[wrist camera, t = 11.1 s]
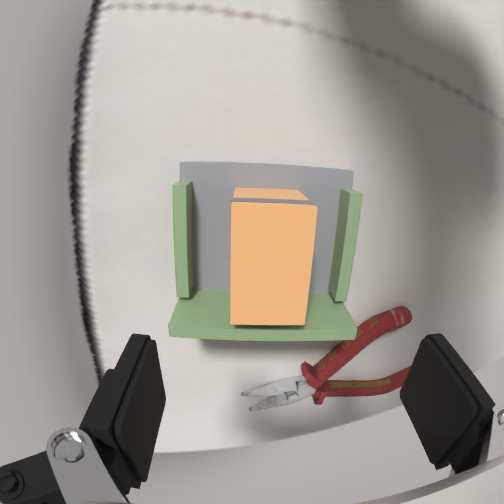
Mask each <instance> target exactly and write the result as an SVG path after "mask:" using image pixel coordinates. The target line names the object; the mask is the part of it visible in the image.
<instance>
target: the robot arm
mask: <svg viewBox="0 0 504 504" xmlns="http://www.w3.org/2000/svg"><path fill="white" fill-rule="evenodd" d="M400 398H401V401H402V403H403V405H404V407H405V409H406V411H407V413H408V415H409V417H410V419H411V421H412V423H413V426H414V428H415V430H416V432H417V434H418V436H419V438H420V440H421V443H422V445H423V447H424V449H425V452H426V454H427V456H428V458H429V461H430V462H431V463H432V464H434V465H435V468H436V470H438V469H441V468H444V467H446V466H448V465H449V464H451V466H452V469H451V472H450V475H449V477H448V478H446V479H443V480H440V481H438V482H435V483H432V484H429V485H426V486H423V487H420V488H417V489H413V490H410V491H406V492H403V493H399V494H396V495H392V496H388V497H384V498H380V499H376V500H371V501H366V502H361V503H357V504H504V406H503V407H499V408H497V409H496V410H495V412H493V410H492V409H493V407H494V406H495V403H494V401H493V400H492V399H491V397H490V396H489V394H488V393H487V392H486V390H485V389H484V388H483V386H482V385H481V384H480V382H479V381H478V379H477V378H476V377H475V375H474V374H473V373H472V371H471V370H470V369H469V367H468V366H467V365H466V363H465V362H464V361H463V360H462V358H461V357H460V356H459V355H458V353H457V352H456V351H455V349H454V348H453V347H452V346H451V344H450V343H449V342H448V341H447V340H446V338H445V337H444V336H443V335H442V334H440V333H438V334H429V335H427V336H426V337H425V338H424V339H423V340H422V341H421V343H420V346H419V348H418V351H417V353H416V356H415V358H414V361H413V363H412V366H411V368H410V370H409V373H408V375H407V377H406V379H405V382H404V384H403V386H402V388H401V391H400ZM165 402H166V395H165V390H164V385H163V380H162V374H161V369H160V363H159V358H158V352H157V346H156V341H155V340H151V338H150V336H149V335H142V334H132V335H131V337H130V339H129V341H128V343H127V345H126V347H125V349H124V351H123V353H122V355H121V357H120V359H119V361H118V363H117V365H116V367H115V369H108V370H107V371H106V373H105V375H104V377H103V379H102V381H101V383H100V385H99V387H98V389H97V391H96V393H95V395H94V397H93V399H92V401H91V403H90V405H89V407H88V410H87V412H86V414H85V416H84V418H83V421H82V423H81V425H80V427H79V429H77V428H70V427H68V428H62V429H60V430H58V431H56V432H54V433H53V434H52V435H51V436H50V438H49V439H48V441H47V445H46V451H44V452H41V453H39V454H36V455H33V456H30V457H28V458H25V459H22V460H19V461H16V462H13V463H10V464H7V465H4V466H2V467H0V504H131V502H130V501H129V499H128V497H127V496H126V495H127V494H129V491H130V488H131V487H132V488H138V489H139V488H140V485H141V482H146V481H147V478H148V473H149V469H150V464H151V460H152V456H153V452H154V447H155V443H156V439H157V435H158V431H159V427H160V423H161V419H162V415H163V411H164V407H165Z"/></svg>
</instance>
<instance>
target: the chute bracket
mask: <svg viewBox="0 0 504 504" xmlns="http://www.w3.org/2000/svg"><path fill="white" fill-rule="evenodd" d="M352 182H353V171H351V170H342V169H332V168H321V167H309V166H296V165H280V164H262V163H235V162H180V181H179V182H177V183H176V184H174V185H173V229H174V255H175V275H176V291H177V297H179V299H178V302H177V304H176V307H175V309H174V312H173V315H172V317H171V320H170V322H169V325H168V328H169V337H181V338H197V339H215V340H240V341H332V340H355V337H356V333H357V327H356V325H355V323H354V321H353V320H352V318H351V316H350V314H349V312H348V311H347V309H346V307H345V305H344V303H343V302H342V301H346V300H347V294H348V289H349V284H350V278H351V272H352V266H353V260H354V254H355V247H356V240H357V233H358V226H359V219H360V211H361V202H362V194H361V193H359V192H357V191H355V190H353V189H352ZM235 188H267V189H290V190H299V191H300V192H301V193H302V194H303V195H304V196H305V197H307V198H308V199H309V200H311V201H313V202H314V203H315V206H316V207H317V219H316V230H315V240H314V250H313V260H312V269H311V278H310V286H309V294H308V302H307V310H306V318H305V325H236V324H230V236H231V199H232V198H233V195H234V191H235Z"/></svg>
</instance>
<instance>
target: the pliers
mask: <svg viewBox="0 0 504 504" xmlns="http://www.w3.org/2000/svg"><path fill="white" fill-rule="evenodd" d="M411 320H412V314H411V312H410V311H409V310H408V309H407V308H406V307H397V308H394V309H392V310H389V311H386V312H384V313H381V314H378V315H375V316H373V317H371V318H370V319H368V320H366V321H365V322H364V323H362V324H361V325H360V326H358V327H357V333H356V337H355V340H343V341H342V342H341V343H339V344H338V345H337V346H336V347H335V348H334V349H333V350H332V351H330V352H329V353H328V354H327V355H326V356H325V357H324V358H322V359H321V360H320V361H319V362H318V363H317V364H315V365H314V366H311V365H310V364H308V363H307V362H304V363H302V364H301V369H302V373H303V375H302V376H297V377H291V378H286V379H282V380H279V381H276V382H273V383H270V384H267V385H264V386H261V387H258V388H255V389H252V390H249V391H245V392H242V393H241V396H271V397H270V398H268V399H266V400H264V401H262V402H260V403H259V404H257V405H255V406H253V407H251V408H249V411H252V410H258V409H264V408H270V407H275V406H280V405H286V404H290V403H293V402H296V401H299V400H301V399H303V398H306V397H308V396H310V395H313V399H314V403H315V404H316V405H321V404H322V403H323V400H324V398H325V396H332V397H334V396H373V395H380V394H385V393H388V392H391V391H393V390H395V389H397V388H399V387H401V386H403V384H404V382H405V379H406V377H407V375H408V373H409V370H410V368H411V366H410V367H408V368H406V369H404V370H401V371H399V372H397V373H395V374H393V375H391V376H388V377H385V378H382V379H378V380H369V381H342V380H327V379H329V378H330V377H331V376H332V375H333V374H335V373H336V372H337V371H338V370H339V369H341V368H342V367H343V366H344V365H345V364H346V363H348V362H349V361H350V360H351V359H352V358H353V357H354V356H356V355H357V354H358V353H359V352H360V351H361V350H362V349H363V348H365V347H366V346H367V345H368V344H369V343H371V342H372V341H373V340H375V339H376V338H378V337H379V336H381V335H383V334H385V333H387V332H390V331H392V330H395V329H397V328H400V327H402V326H405V325H407V324H408V323H410V322H411Z"/></svg>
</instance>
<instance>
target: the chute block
mask: <svg viewBox="0 0 504 504" xmlns="http://www.w3.org/2000/svg"><path fill="white" fill-rule="evenodd" d="M316 219H317V207H316V206H315V203H314V202H313V201H311V200H309V199H308V198H307V197H305V196H304V195H303V194H302V193H301V192H300V191H299V190H290V189H267V188H235V191H234V195H233V198H232V199H231V236H230V324H236V325H305V318H306V310H307V302H308V294H309V286H310V278H311V269H312V260H313V250H314V240H315V230H316Z"/></svg>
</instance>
